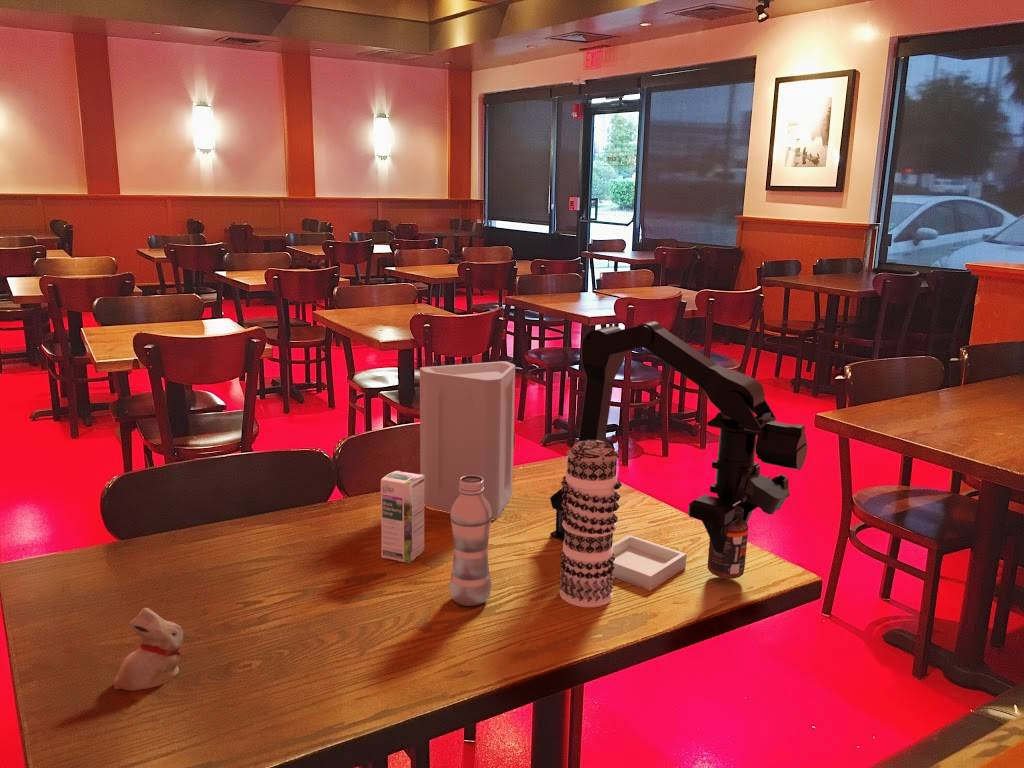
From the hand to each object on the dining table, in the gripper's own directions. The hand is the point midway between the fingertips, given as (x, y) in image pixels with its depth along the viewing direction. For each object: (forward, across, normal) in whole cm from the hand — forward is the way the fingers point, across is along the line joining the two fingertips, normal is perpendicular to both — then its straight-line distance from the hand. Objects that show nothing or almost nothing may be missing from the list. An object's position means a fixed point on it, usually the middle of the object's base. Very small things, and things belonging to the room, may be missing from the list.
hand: (727, 546), depth 135 cm
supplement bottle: (+5, 0, 0) cm, 5 cm away
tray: (+6, -6, +13) cm, 16 cm away
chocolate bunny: (+6, -77, +42) cm, 88 cm away
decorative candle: (+6, -20, +14) cm, 25 cm away
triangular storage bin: (+6, -5, +52) cm, 53 cm away
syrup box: (+6, -30, +46) cm, 55 cm away
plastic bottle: (+6, -34, +26) cm, 43 cm away
